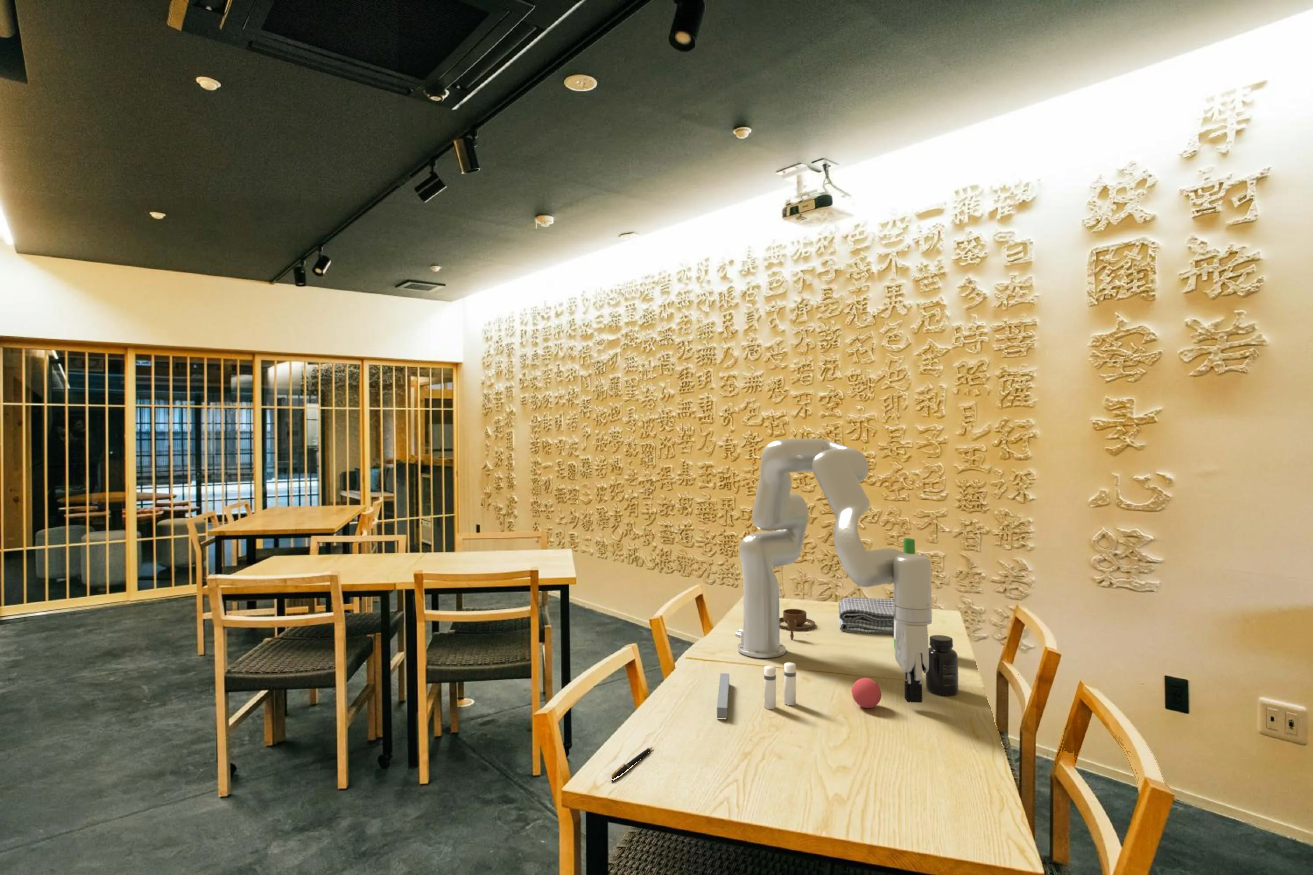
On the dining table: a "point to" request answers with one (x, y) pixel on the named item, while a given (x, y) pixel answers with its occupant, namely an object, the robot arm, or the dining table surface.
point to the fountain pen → (630, 763)
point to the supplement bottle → (942, 666)
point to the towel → (866, 615)
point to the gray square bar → (723, 696)
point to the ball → (866, 693)
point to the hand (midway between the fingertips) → (913, 700)
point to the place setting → (795, 621)
